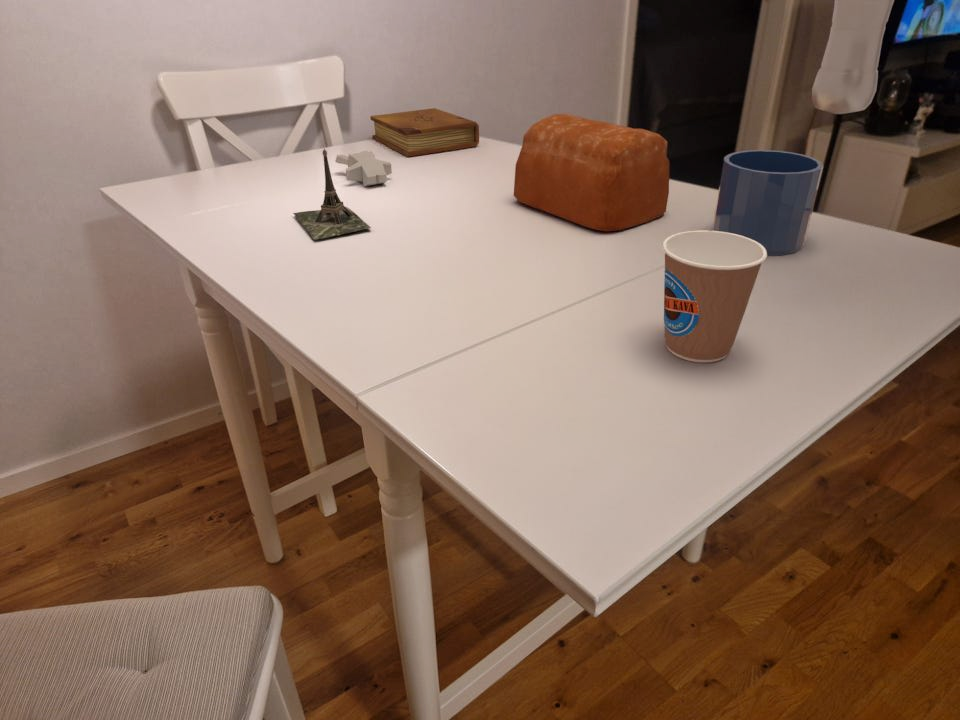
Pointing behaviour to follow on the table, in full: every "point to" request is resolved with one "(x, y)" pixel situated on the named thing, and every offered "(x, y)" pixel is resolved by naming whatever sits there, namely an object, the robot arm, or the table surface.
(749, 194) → the blue bin
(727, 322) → the coffee cup
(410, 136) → the diary
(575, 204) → the bread
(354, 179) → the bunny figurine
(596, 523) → the table surface
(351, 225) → the eiffel tower figurine
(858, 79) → the plastic bottle
